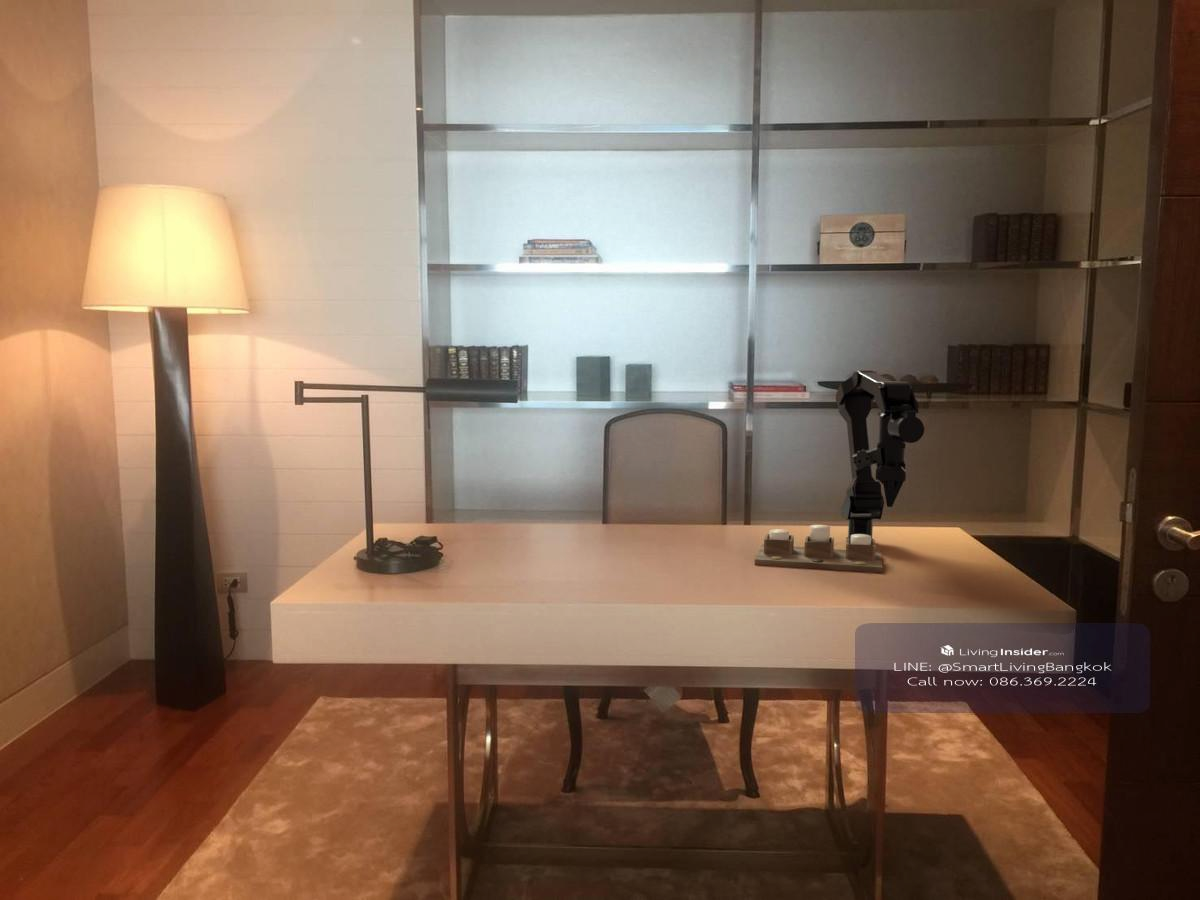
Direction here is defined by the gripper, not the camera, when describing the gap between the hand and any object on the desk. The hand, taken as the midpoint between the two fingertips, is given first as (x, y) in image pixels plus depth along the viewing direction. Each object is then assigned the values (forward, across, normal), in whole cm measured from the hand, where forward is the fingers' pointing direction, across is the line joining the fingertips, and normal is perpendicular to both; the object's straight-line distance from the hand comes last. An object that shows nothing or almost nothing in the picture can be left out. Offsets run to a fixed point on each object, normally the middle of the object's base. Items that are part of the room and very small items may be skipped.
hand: (889, 506), depth 212 cm
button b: (+9, +5, -15) cm, 18 cm away
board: (+12, +7, -15) cm, 20 cm away
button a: (+10, +5, -6) cm, 13 cm away
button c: (+10, +5, -24) cm, 26 cm away
